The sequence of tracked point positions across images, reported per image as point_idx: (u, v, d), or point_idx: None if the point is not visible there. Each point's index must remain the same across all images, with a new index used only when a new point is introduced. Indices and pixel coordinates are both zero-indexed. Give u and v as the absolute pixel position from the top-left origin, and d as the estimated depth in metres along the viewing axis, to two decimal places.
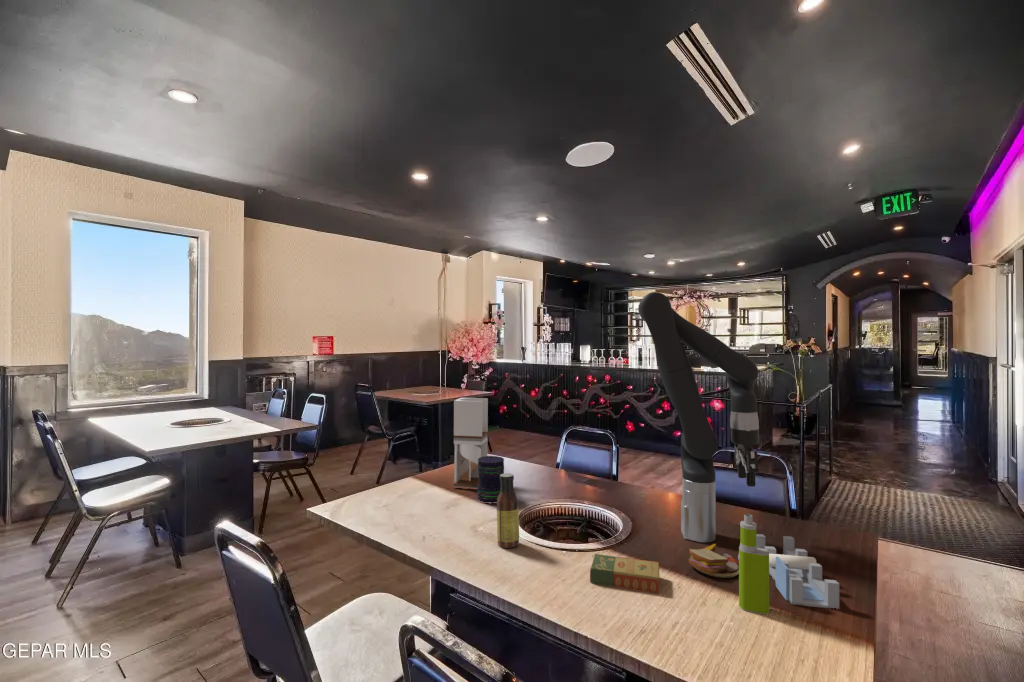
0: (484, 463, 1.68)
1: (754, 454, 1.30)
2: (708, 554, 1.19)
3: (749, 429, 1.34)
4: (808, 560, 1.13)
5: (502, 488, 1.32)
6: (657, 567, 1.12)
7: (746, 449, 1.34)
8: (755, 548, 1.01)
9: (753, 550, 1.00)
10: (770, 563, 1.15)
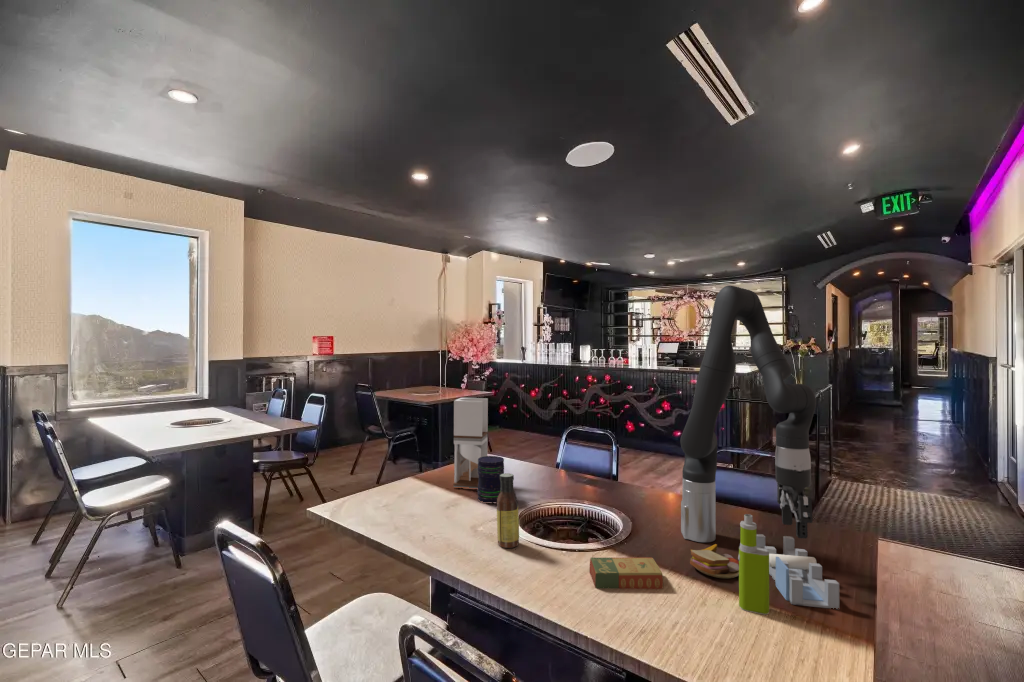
0: (484, 463, 1.68)
1: (807, 500, 1.08)
2: (709, 555, 1.18)
3: (800, 469, 1.11)
4: (808, 560, 1.13)
5: (502, 488, 1.32)
6: (655, 562, 1.14)
7: (796, 493, 1.11)
8: (755, 548, 1.01)
9: (753, 550, 1.00)
10: (770, 563, 1.15)
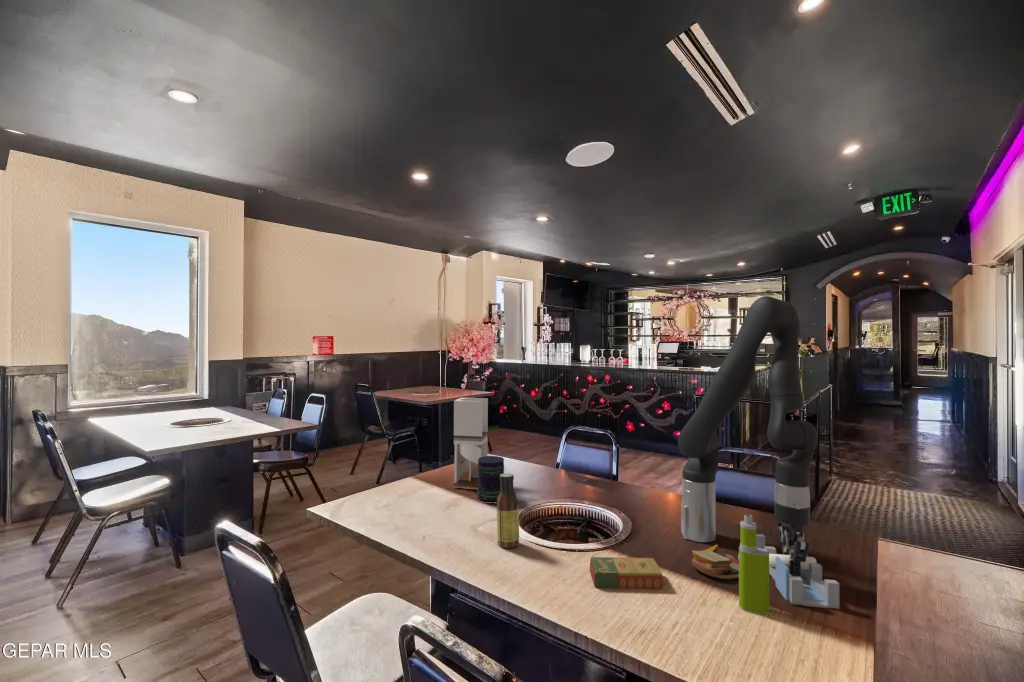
0: (484, 463, 1.68)
1: (804, 546, 1.08)
2: (711, 555, 1.18)
3: (799, 507, 1.11)
4: (808, 560, 1.13)
5: (502, 488, 1.32)
6: (655, 563, 1.14)
7: (795, 533, 1.11)
8: (755, 548, 1.01)
9: (753, 550, 1.00)
10: (770, 563, 1.15)
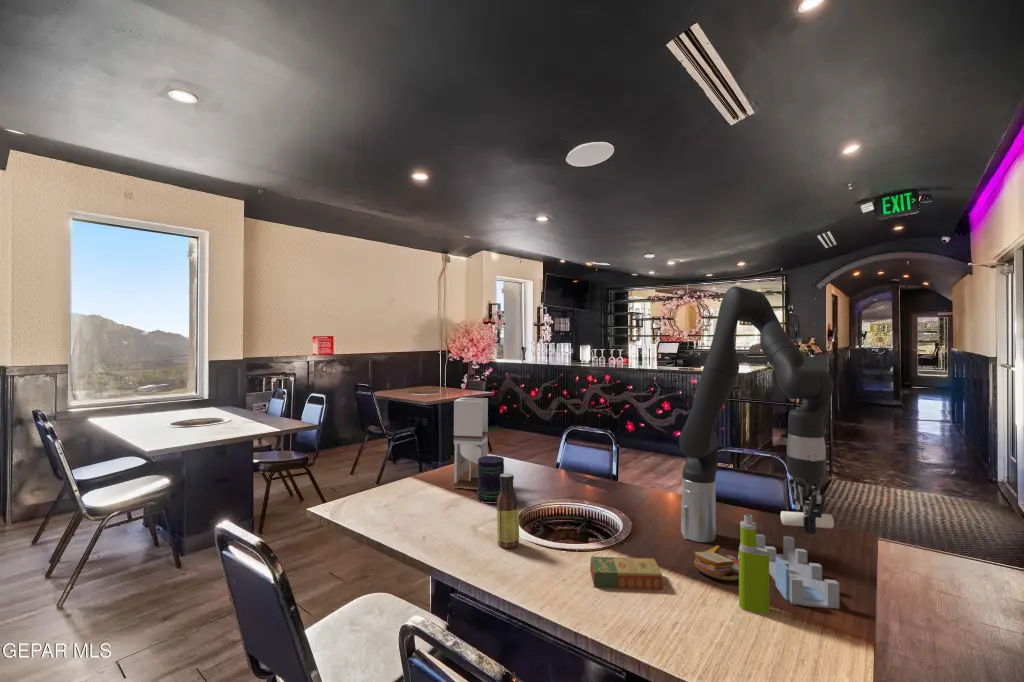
0: (484, 463, 1.68)
1: (821, 500, 1.01)
2: (714, 557, 1.17)
3: (814, 459, 1.03)
4: (824, 517, 1.05)
5: (502, 488, 1.32)
6: (656, 563, 1.14)
7: (810, 487, 1.03)
8: (755, 548, 1.01)
9: (753, 550, 1.00)
10: (783, 521, 1.08)
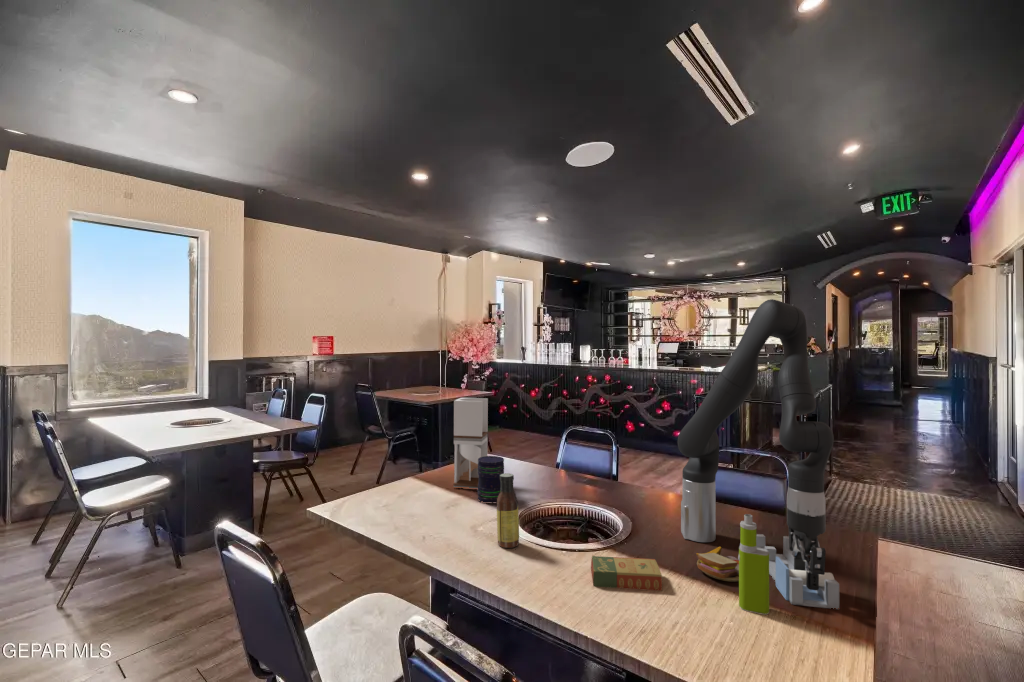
0: (484, 463, 1.68)
1: (821, 553, 1.00)
2: (717, 558, 1.17)
3: (814, 514, 1.03)
4: (825, 576, 1.05)
5: (502, 488, 1.32)
6: (656, 564, 1.14)
7: (809, 541, 1.03)
8: (755, 548, 1.01)
9: (753, 550, 1.00)
10: None
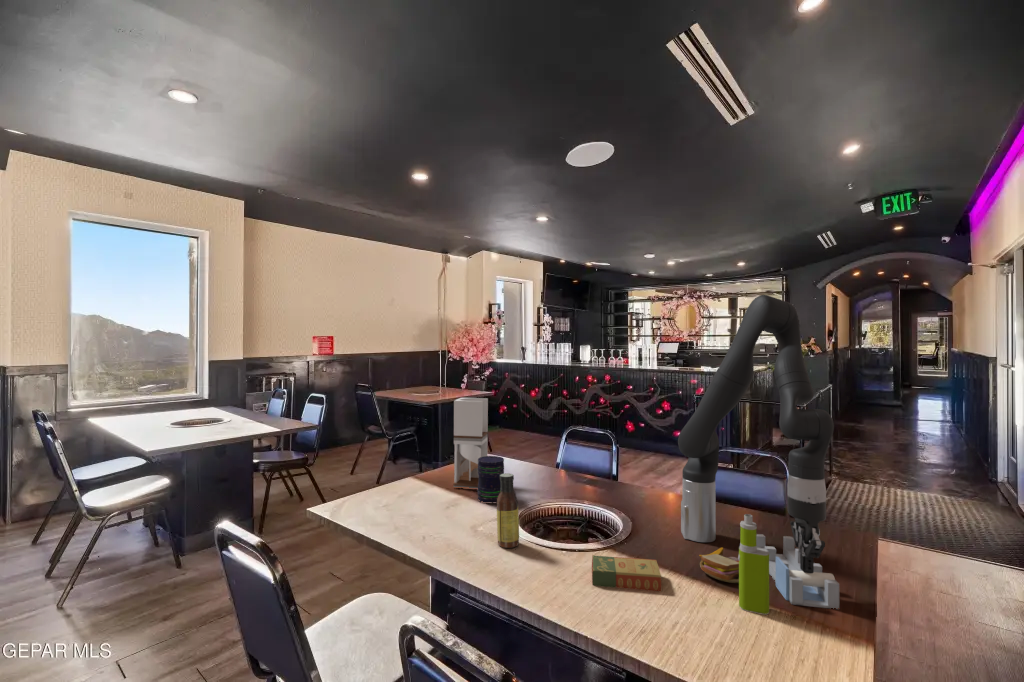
0: (484, 463, 1.68)
1: (820, 546, 1.01)
2: (721, 559, 1.16)
3: (815, 501, 1.03)
4: None
5: (502, 488, 1.32)
6: (657, 564, 1.13)
7: (811, 531, 1.03)
8: (755, 548, 1.01)
9: (753, 550, 1.00)
10: None
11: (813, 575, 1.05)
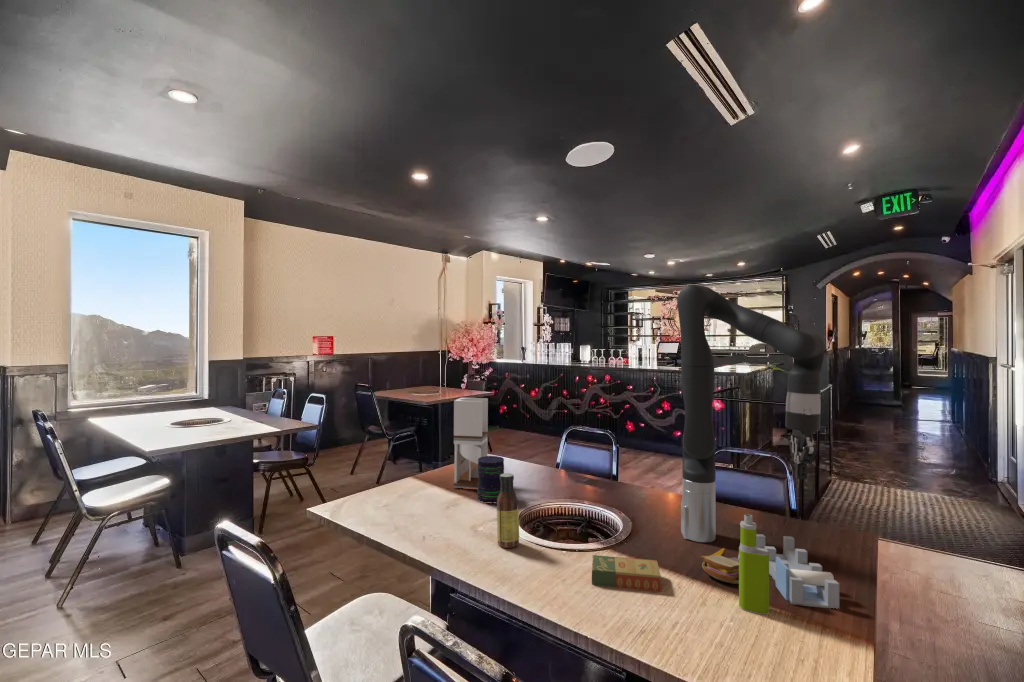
0: (484, 463, 1.68)
1: (813, 451, 1.13)
2: (724, 560, 1.15)
3: (809, 413, 1.15)
4: (825, 575, 1.05)
5: (502, 488, 1.32)
6: (657, 565, 1.13)
7: (805, 439, 1.14)
8: (755, 548, 1.01)
9: (753, 550, 1.00)
10: None
11: (811, 572, 1.06)
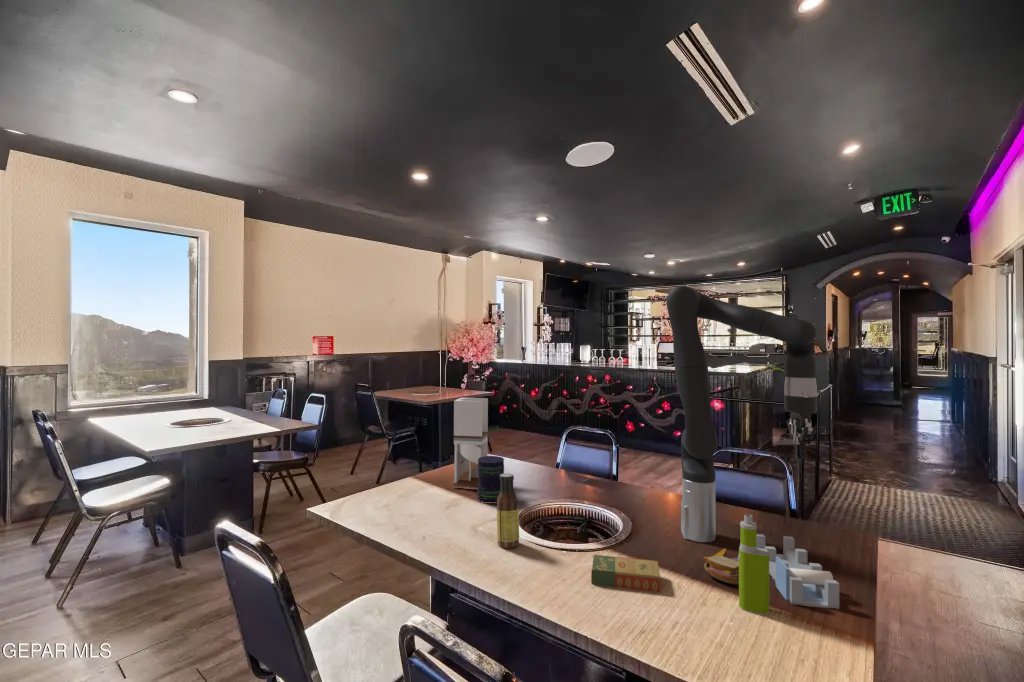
0: (484, 463, 1.68)
1: (811, 431, 1.20)
2: (726, 561, 1.15)
3: (807, 396, 1.22)
4: (823, 572, 1.06)
5: (502, 488, 1.32)
6: (657, 565, 1.13)
7: (803, 420, 1.22)
8: (755, 548, 1.01)
9: (753, 550, 1.00)
10: None
11: (809, 570, 1.07)
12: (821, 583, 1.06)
